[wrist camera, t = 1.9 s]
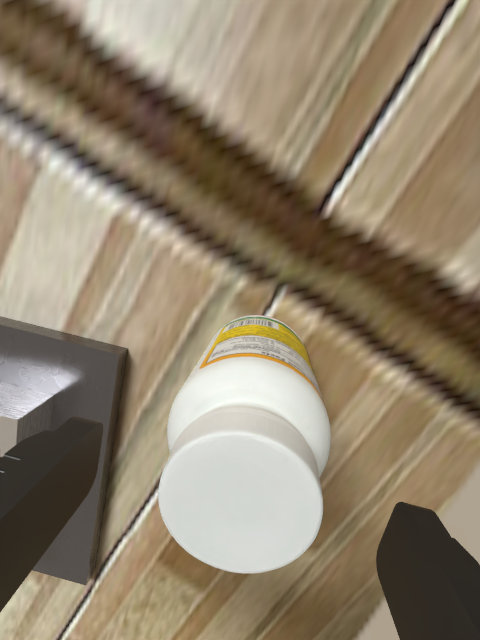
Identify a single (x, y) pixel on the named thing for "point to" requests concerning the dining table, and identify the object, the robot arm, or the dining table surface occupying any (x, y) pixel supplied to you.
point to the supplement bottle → (247, 450)
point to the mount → (61, 420)
